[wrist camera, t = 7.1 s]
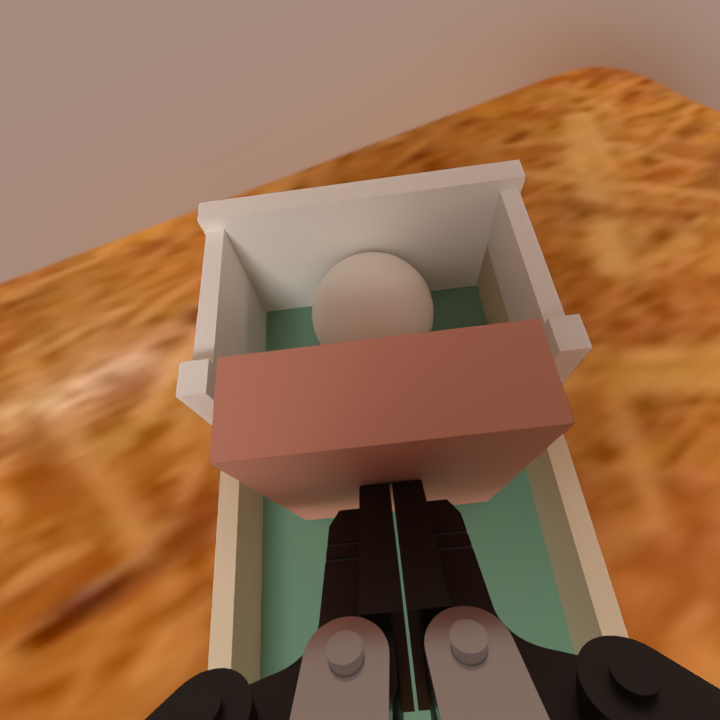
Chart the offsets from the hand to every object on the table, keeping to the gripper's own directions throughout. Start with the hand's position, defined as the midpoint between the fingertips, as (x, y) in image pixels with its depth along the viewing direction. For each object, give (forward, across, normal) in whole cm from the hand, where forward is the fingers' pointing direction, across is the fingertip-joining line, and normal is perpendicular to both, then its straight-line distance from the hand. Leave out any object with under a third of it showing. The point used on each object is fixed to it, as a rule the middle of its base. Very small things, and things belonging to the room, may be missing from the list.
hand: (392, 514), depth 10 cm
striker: (+4, 0, +2) cm, 4 cm away
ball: (+7, 0, -4) cm, 8 cm away
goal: (+8, 0, -1) cm, 9 cm away
